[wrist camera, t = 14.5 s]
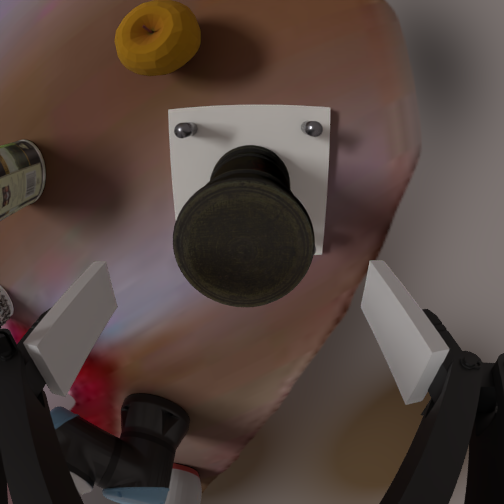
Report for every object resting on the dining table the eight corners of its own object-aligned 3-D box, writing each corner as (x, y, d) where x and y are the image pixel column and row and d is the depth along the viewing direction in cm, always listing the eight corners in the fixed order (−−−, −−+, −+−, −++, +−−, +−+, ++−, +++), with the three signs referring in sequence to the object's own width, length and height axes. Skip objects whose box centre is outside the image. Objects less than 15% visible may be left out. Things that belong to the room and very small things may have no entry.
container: (231, 232, 36) (211, 330, 20) (197, 165, 32) (139, 216, 16) (301, 203, 34) (340, 284, 18) (270, 132, 31) (286, 146, 15)
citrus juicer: (145, 466, 71) (134, 517, 53) (166, 455, 65) (155, 514, 47) (187, 481, 75) (181, 530, 57) (214, 471, 69) (209, 528, 51)
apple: (224, 44, 27) (214, 20, 19) (168, 96, 30) (141, 91, 22) (174, 3, 25) (150, -26, 16) (121, 54, 27) (85, 41, 19)
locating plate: (320, 250, 38) (328, 269, 33) (181, 250, 38) (171, 270, 34) (327, 108, 30) (339, 106, 26) (171, 109, 31) (157, 108, 26)
